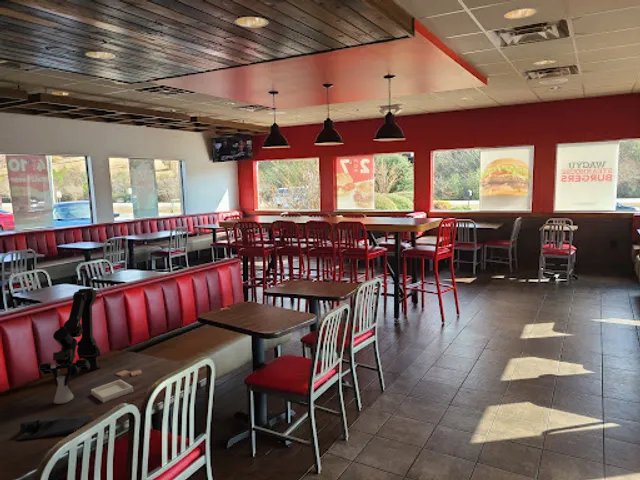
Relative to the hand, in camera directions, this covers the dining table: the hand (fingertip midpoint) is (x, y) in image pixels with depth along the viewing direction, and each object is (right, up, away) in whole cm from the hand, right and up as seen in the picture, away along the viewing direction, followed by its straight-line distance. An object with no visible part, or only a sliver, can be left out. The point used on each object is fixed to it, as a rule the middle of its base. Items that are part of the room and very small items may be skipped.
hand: (61, 386), depth 194 cm
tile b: (+21, -3, +26) cm, 33 cm away
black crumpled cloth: (+10, -9, -21) cm, 25 cm away
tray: (+19, -5, +6) cm, 20 cm away
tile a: (+15, -3, +27) cm, 30 cm away
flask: (0, -7, +2) cm, 7 cm away
